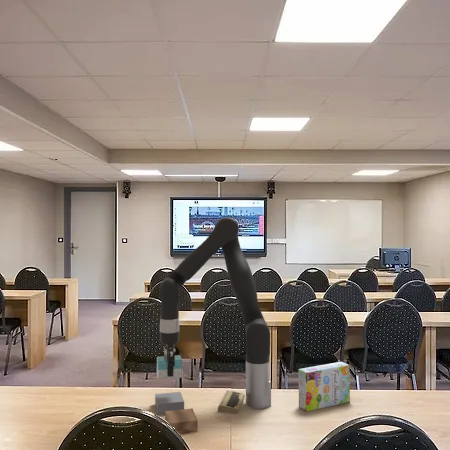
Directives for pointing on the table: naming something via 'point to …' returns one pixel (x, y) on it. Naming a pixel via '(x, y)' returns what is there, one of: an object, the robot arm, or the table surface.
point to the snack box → (324, 386)
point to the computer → (231, 402)
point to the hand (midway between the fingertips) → (169, 373)
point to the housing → (163, 367)
